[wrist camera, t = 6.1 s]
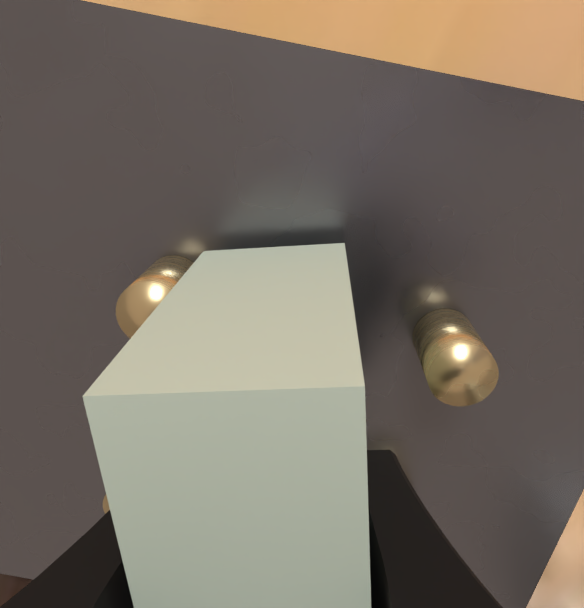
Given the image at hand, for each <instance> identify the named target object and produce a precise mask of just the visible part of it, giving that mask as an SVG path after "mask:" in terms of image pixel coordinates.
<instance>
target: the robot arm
mask: <svg viewBox="0 0 584 608" xmlns="http://www.w3.org/2000/svg"><path fill="white" fill-rule="evenodd" d="M367 475H368V510H369V545H370V580H371V608H503V607H502V606H501V605H500V604H499V603H498V601H497V600H496V599H495V598H494V597H493V596H492V594H491V593H490V592H489V591H488V590H487V589H486V587H485V586H484V585H483V584H482V583H481V581H480V580H479V579H478V578H477V576H476V575H475V574H474V573H473V571H472V570H471V569H470V568H469V566H468V565H467V564H466V563H465V561H464V560H463V559H462V558H461V556H460V555H459V554H458V552H457V551H456V550H455V548H454V547H453V546H452V544H451V543H450V542H449V540H448V539H447V538H446V536H445V535H444V533H443V532H442V530H441V529H440V528H439V526H438V525H437V523H436V522H435V520H434V519H433V518H432V516H431V515H430V513H429V512H428V510H427V509H426V507H425V506H424V504H423V503H422V501H421V500H420V498H419V496H418V495H417V493H416V491H415V490H414V488H413V487H412V485H411V483H410V481H409V480H408V478H407V476H406V474H405V473H404V471H403V469H402V467H401V465H400V463H399V461H398V459H397V456H396V454H394V453H393V452H392V451H391V450H367ZM0 608H134V606H133V602H132V598H131V594H130V590H129V586H128V581H127V577H126V573H125V569H124V565H123V561H122V557H121V553H120V549H119V545H118V540H117V536H116V532H115V528H114V524H113V520H112V516H111V512H110V510H109V511H108V512H107V513H106V514H105V515H104V516H103V517H102V518H101V519H100V520H99V521H98V522H97V523H96V524H95V525H94V526H93V527H92V528H91V529H89V530H88V531H87V532H86V533H85V534H84V535H83V536H82V537H81V538H80V539H79V540H77V541H76V542H75V543H74V544H73V545H72V546H71V547H70V548H69V549H67V550H66V551H65V552H64V553H63V554H62V555H61V556H60V557H59V558H58V559H56V560H55V561H54V562H53V563H52V564H51V565H50V566H49V567H48V568H46V569H45V570H44V571H43V572H42V573H41V574H40V575H39V576H37V577H36V578H35V579H34V580H33V581H31V582H30V583H29V584H28V585H27V586H26V587H24V588H23V589H22V590H21V591H19V592H18V593H17V594H16V595H14V596H13V597H12V598H11V599H10V600H8V601H7V602H6V603H4V604H3V605H2V606H1V607H0Z"/></svg>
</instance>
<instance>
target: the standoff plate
mask: <svg viewBox="0 0 584 608" xmlns="http://www.w3.org/2000/svg"><path fill="white" fill-rule="evenodd" d="M335 243H345V249H346V256H347V263H348V270H349V277H350V284H351V291H352V299H353V306H354V313H355V320H356V327H357V334H358V341H359V348H360V355H361V362H362V369H363V376H364V383H365V406H366V440H367V450H391V451H392V452H393V453H394V454H396V456H397V459H398V461H399V463H400V465H401V467H402V469H403V471H404V473H405V474H406V476H407V478H408V480H409V481H410V483H411V485H412V487H413V488H414V490H415V491H416V493H417V495H418V496H419V498H420V500H421V501H422V503H423V504H424V506H425V507H426V509H427V510H428V512H429V513H430V515H431V516H432V518H433V519H434V520H435V522H436V523H437V525H438V526H439V528H440V529H441V530H442V532H443V533H444V535H445V536H446V538H447V539H448V540H449V542H450V543H451V544H452V546H453V547H454V548H455V550H456V551H457V552H458V554H459V555H460V556H461V558H462V559H463V560H464V561H465V563H466V564H467V565H468V566H469V568H470V569H471V570H472V571H473V573H474V574H475V575H476V576H477V578H478V579H479V580H480V581H481V583H482V584H483V585H484V586H485V587H486V589H487V590H488V591H489V592H490V593H491V594H492V596H493V597H494V598H495V599H496V600H497V601H498V603H499V604H500V605H501V606H502V607H503V608H526V606H527V604H528V602H529V600H530V598H531V596H532V594H533V592H534V590H535V588H536V586H537V584H538V582H539V580H540V578H541V576H542V574H543V571H544V569H545V567H546V565H547V563H548V561H549V559H550V557H551V555H552V553H553V551H554V549H555V547H556V545H557V543H558V541H559V539H560V537H561V535H562V533H563V530H564V528H565V526H566V524H567V522H568V520H569V518H570V516H571V514H572V512H573V510H574V508H575V506H576V504H577V502H578V500H579V498H580V496H581V494H582V491H583V489H584V101H580V100H575V99H570V98H565V97H560V96H555V95H550V94H545V93H540V92H535V91H530V90H525V89H520V88H515V87H510V86H505V85H500V84H495V83H490V82H485V81H480V80H475V79H470V78H465V77H460V76H455V75H450V74H445V73H440V72H435V71H430V70H425V69H420V68H415V67H410V66H405V65H400V64H395V63H390V62H385V61H380V60H375V59H370V58H365V57H360V56H356V55H351V54H346V53H341V52H336V51H331V50H326V49H321V48H316V47H311V46H306V45H301V44H296V43H291V42H286V41H281V40H276V39H271V38H266V37H261V36H256V35H251V34H246V33H241V32H236V31H231V30H226V29H221V28H216V27H211V26H206V25H201V24H196V23H191V22H186V21H181V20H176V19H171V18H166V17H161V16H156V15H151V14H146V13H141V12H136V11H131V10H126V9H121V8H116V7H111V6H106V5H101V4H97V3H92V2H87V1H82V0H0V573H1V574H7V575H12V576H17V577H23V578H28V579H33V580H34V579H35V578H36V577H37V576H39V575H40V574H41V573H42V572H43V571H44V570H45V569H46V568H48V567H49V566H50V565H51V564H52V563H53V562H54V561H55V560H56V559H58V558H59V557H60V556H61V555H62V554H63V553H64V552H65V551H66V550H67V549H69V548H70V547H71V546H72V545H73V544H74V543H75V542H76V541H77V540H79V539H80V538H81V537H82V536H83V535H84V534H85V533H86V532H87V531H88V530H89V529H91V528H92V527H93V526H94V525H95V524H96V523H97V522H98V521H99V520H100V519H101V518H102V517H103V516H104V515H105V514H106V513H107V512H108V511H109V510H110V508H109V503H108V499H107V495H106V491H105V487H104V483H103V479H102V475H101V471H100V467H99V462H98V458H97V454H96V450H95V446H94V442H93V438H92V434H91V430H90V425H89V421H88V417H87V413H86V409H85V405H84V401H83V397H82V396H83V395H84V394H85V392H86V391H87V390H88V389H89V388H90V387H91V385H92V384H93V383H94V382H95V381H96V379H97V378H98V377H99V376H100V375H101V373H102V372H103V371H104V370H105V369H106V367H107V366H108V365H109V364H110V363H111V361H112V360H113V359H114V358H115V357H116V355H117V354H118V353H119V352H120V351H121V349H122V348H123V347H124V346H125V345H126V343H127V342H128V341H129V340H130V339H131V337H132V336H133V335H134V334H135V333H136V331H137V330H138V329H139V328H140V327H141V325H142V324H143V323H144V322H145V321H146V319H147V318H148V317H149V316H150V315H151V313H152V312H153V311H154V310H155V309H156V307H157V306H158V305H159V304H160V303H161V301H162V300H163V299H164V298H165V297H166V295H167V294H168V293H169V292H170V291H171V290H172V288H173V287H174V286H175V285H176V284H177V282H178V281H179V280H180V279H181V278H182V276H183V275H184V274H185V273H186V272H187V270H188V269H189V268H190V267H191V266H192V264H193V263H194V262H195V261H196V260H197V258H198V257H199V256H200V255H201V254H202V252H203V251H213V250H230V249H248V248H265V247H282V246H300V245H317V244H335Z"/></svg>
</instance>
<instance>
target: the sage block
mask: <svg viewBox="0 0 584 608" xmlns="http://www.w3.org/2000/svg"><path fill="white" fill-rule="evenodd" d="M82 397H83V401H84V405H85V409H86V413H87V417H88V421H89V425H90V430H91V434H92V438H93V442H94V446H95V450H96V454H97V458H98V462H99V467H100V471H101V475H102V479H103V483H104V487H105V491H106V495H107V499H108V503H109V508H110V512H111V516H112V520H113V524H114V528H115V532H116V536H117V540H118V545H119V549H120V553H121V557H122V561H123V565H124V569H125V573H126V577H127V581H128V586H129V590H130V594H131V598H132V602H133V606H134V608H371V580H370V545H369V510H368V475H367V440H366V406H365V383H364V376H363V369H362V362H361V355H360V348H359V341H358V334H357V327H356V320H355V313H354V306H353V299H352V291H351V284H350V277H349V270H348V263H347V256H346V249H345V243H335V244H317V245H300V246H282V247H265V248H248V249H230V250H213V251H203V252H202V254H201V255H200V256H199V257H198V258H197V260H196V261H195V262H194V263H193V264H192V266H191V267H190V268H189V269H188V270H187V272H186V273H185V274H184V275H183V276H182V278H181V279H180V280H179V281H178V282H177V284H176V285H175V286H174V287H173V288H172V290H171V291H170V292H169V293H168V294H167V295H166V297H165V298H164V299H163V300H162V301H161V303H160V304H159V305H158V306H157V307H156V309H155V310H154V311H153V312H152V313H151V315H150V316H149V317H148V318H147V319H146V321H145V322H144V323H143V324H142V325H141V327H140V328H139V329H138V330H137V331H136V333H135V334H134V335H133V336H132V337H131V339H130V340H129V341H128V342H127V343H126V345H125V346H124V347H123V348H122V349H121V351H120V352H119V353H118V354H117V355H116V357H115V358H114V359H113V360H112V361H111V363H110V364H109V365H108V366H107V367H106V369H105V370H104V371H103V372H102V373H101V375H100V376H99V377H98V378H97V379H96V381H95V382H94V383H93V384H92V385H91V387H90V388H89V389H88V390H87V391H86V392H85V394H84V395H83V396H82Z"/></svg>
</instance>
